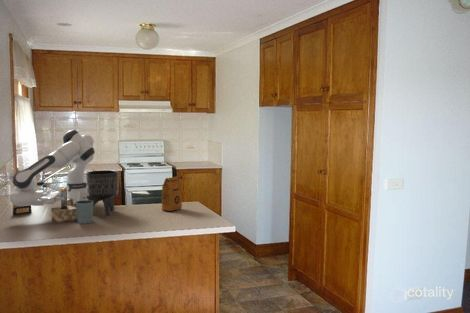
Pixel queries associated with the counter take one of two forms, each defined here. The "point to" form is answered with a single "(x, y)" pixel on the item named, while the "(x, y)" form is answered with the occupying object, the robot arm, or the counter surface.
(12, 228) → the counter surface
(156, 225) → the counter surface
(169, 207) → the coffee package
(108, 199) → the planter
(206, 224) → the counter surface
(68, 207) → the socket block
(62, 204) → the steel bit
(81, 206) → the blue-grey cup
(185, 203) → the counter surface
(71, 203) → the thick bronze bit
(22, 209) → the ammunition clip
